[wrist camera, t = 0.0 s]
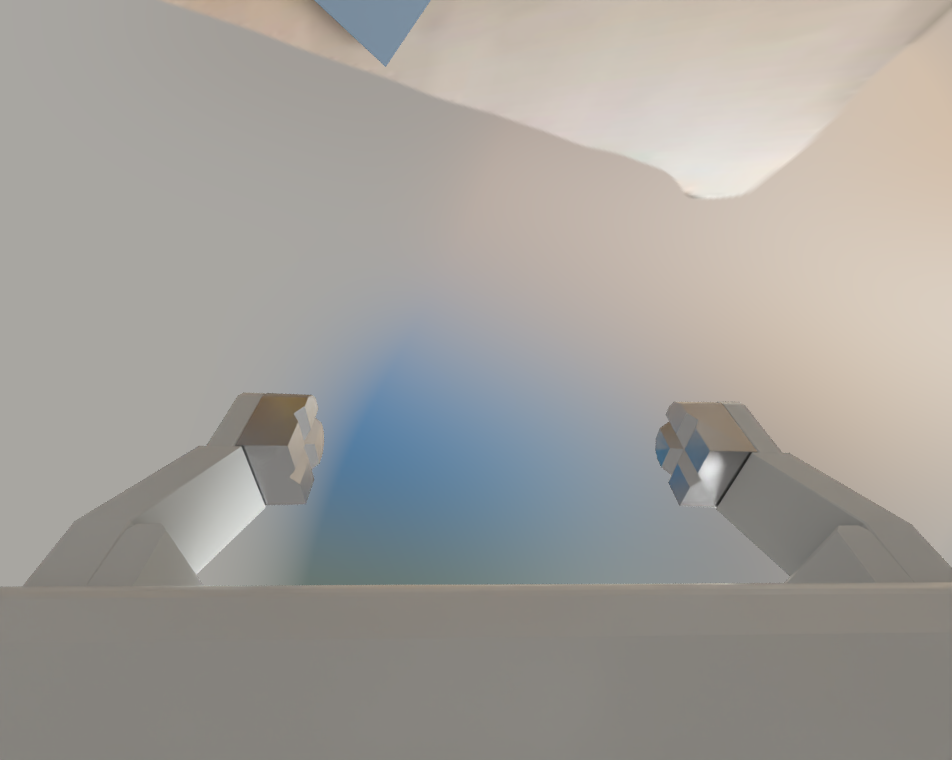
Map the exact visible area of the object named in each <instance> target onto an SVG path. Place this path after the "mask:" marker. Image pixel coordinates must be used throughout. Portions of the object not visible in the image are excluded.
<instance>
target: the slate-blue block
mask: <svg viewBox="0 0 952 760" xmlns="http://www.w3.org/2000/svg"><path fill="white" fill-rule="evenodd" d="M315 1H316V2H317V3H318V4H319V5H320V6H321V7H322V8H323V9H324V10H325V11H326V12H327V13H329V14H330V15H331V16H332V17H333V18H334V19H335V20H336V21H337V22H338V23H339V24H340V25H341V26H342V27H344V28H345V29H346V30H347V31H348V32H349V33H350V34H351V35H352V36H353V37H354V38H355V39H356V40H357V41H359V42H360V43H361V44H362V45H363V46H364V47H365V48H366V49H367V50H368V51H369V52H370V53H371V54H372V55H374V56H375V57H376V58H377V59H378V60H379V61H380V62H381V63H382V64H383V65H384V66H385V67H386V66H387V64H388V63H389V61H390V60H391V58H392V57H393V55H394V54H395V52H396V51H397V49H398V48H399V46H400V45H401V43H402V42H403V40H404V39H405V37H406V36H407V34H408V33H409V32H410V30H411V29H412V27H413V26H414V24H415V23H416V21H417V20H418V18H419V17H420V15H421V14H422V12H423V11H424V9H425V8H426V6H427V5H428V3H429V2H430V0H315Z"/></svg>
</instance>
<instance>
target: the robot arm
mask: <svg viewBox="0 0 952 760" xmlns="http://www.w3.org/2000/svg"><path fill="white" fill-rule="evenodd" d="M317 411H318V405H317V402H316V398H315V397H314V396H313V395H299V394H276V393H266V394H264V393H242V394H240V395H238V397H237V398H236V400H235V401H234V403H233V404H232V406H231V408H230V409H229V411H228V412H227V414H226V415H225V417H224V419H223V420H222V422H221V423H220V425H219V426H218V428H217V430H216V431H215V433H214V434H213V436H212V438H211V439H210V441H209V442H208V444H207V446H198V447H196V448H195V449H193V450H191V451H190V452H188V453H187V454H185V455H183V456H181V457H180V458H178V459H176V460H175V461H173V462H171V463H170V464H168V465H167V466H165V467H163V468H162V469H160V470H158V471H157V472H155V473H153V474H152V475H150V476H149V477H147V478H145V479H144V480H142V481H140V482H138V483H137V484H135V485H134V486H132V487H130V488H129V489H127V490H125V491H124V492H122V493H120V494H119V495H117V496H115V497H114V498H112V499H111V500H109V501H107V502H105V503H104V504H102V505H101V506H99V507H97V508H96V509H94V510H92V511H91V512H89V513H87V514H86V515H84V516H82V517H81V518H79V519H77V520H76V521H74V523H73V524H72V525H71V527H70V528H69V529H68V530H67V531H66V533H65V534H64V535H63V536H62V538H61V539H60V540H59V541H58V543H57V544H56V545H55V547H54V548H53V549H52V550H51V551H50V553H49V554H48V555H47V556H46V558H45V559H44V560H43V561H42V563H41V564H40V565H39V566H38V568H37V569H36V570H35V571H34V573H33V574H32V575H31V576H30V578H29V579H28V580H27V581H26V583H25V584H24V585H23V586H22V587H0V760H952V567H951V566H950V565H949V564H948V563H947V562H946V561H945V560H944V559H943V558H942V557H941V556H940V555H939V554H938V553H937V551H936V550H935V549H934V548H933V547H932V546H931V545H930V544H929V543H928V542H927V541H926V539H924V537H923V536H922V535H921V534H920V533H919V532H918V531H917V530H916V529H915V528H914V527H913V525H912V524H910V523H908V522H906V521H905V520H903V519H901V518H900V517H898V516H896V515H895V514H893V513H891V512H889V511H888V510H886V509H884V508H883V507H881V506H879V505H877V504H876V503H874V502H872V501H871V500H869V499H867V498H865V497H864V496H862V495H860V494H858V493H857V492H855V491H853V490H852V489H850V488H848V487H847V486H845V485H843V484H841V483H840V482H838V481H836V480H835V479H833V478H831V477H829V476H828V475H826V474H824V473H823V472H821V471H819V470H817V469H816V468H814V467H812V466H810V465H809V464H807V463H805V462H804V461H802V460H800V459H799V458H797V457H795V456H793V455H792V454H790V453H782V452H781V450H780V449H779V448H778V447H777V445H776V444H775V443H774V442H773V440H772V439H771V438H770V436H769V435H768V434H767V433H766V431H765V430H764V429H763V428H762V426H761V425H760V424H759V422H758V421H757V420H756V419H755V418H754V416H753V415H752V414H751V412H750V411H749V410H748V409H747V407H746V406H745V405H743V404H742V403H740V402H673V403H672V404H671V405H670V406H669V409H668V411H667V413H666V416H667V418H668V420H669V422H668V423H667V424H665V425H664V426H662V427H661V428H660V429H659V432H658V434H657V437H656V448H655V450H656V454H657V459H658V461H659V463H660V466H661V467H662V468H663V469H664V470H666V471H667V472H668V473H669V474H671V477H670V480H669V485H670V487H671V489H672V491H673V493H674V495H675V497H676V499H677V501H678V504H679V506H688V507H717V508H716V509H717V510H718V511H719V512H720V513H721V514H722V515H723V516H724V517H725V518H726V519H727V520H729V521H730V522H731V523H732V524H733V525H734V526H735V527H736V528H737V529H738V530H740V531H741V532H742V533H743V534H744V535H745V536H746V537H747V538H748V539H749V540H751V541H752V542H753V543H754V544H755V545H756V546H757V547H758V548H759V549H760V550H762V551H763V552H764V553H765V554H766V555H767V556H768V557H769V558H770V559H771V560H773V561H774V562H775V563H776V564H777V565H778V566H779V567H780V568H782V569H783V570H784V571H785V572H786V573H787V574H788V575H789V576H790V577H789V578H788V579H787V580H786V581H785V582H784V583H701V584H698V583H695V584H694V583H693V584H692V583H690V584H517V585H516V584H510V585H509V584H506V585H504V584H503V585H502V584H496V585H301V586H300V585H284V586H283V585H277V586H276V585H275V586H273V585H271V586H204V585H203V584H202V582H201V581H200V580H199V578H198V577H197V575H196V574H197V573H198V572H199V571H200V570H201V569H202V568H203V567H205V566H206V565H207V564H208V563H209V562H210V561H211V560H212V559H213V558H214V557H215V556H216V555H217V554H218V553H219V552H220V551H221V550H222V549H223V548H224V547H225V546H226V545H227V544H228V543H229V542H230V541H231V540H232V539H233V538H234V537H236V536H237V535H238V534H239V533H240V532H241V531H242V530H243V529H244V528H245V527H246V526H247V525H248V524H249V523H250V522H251V521H252V520H253V519H254V518H255V517H256V516H257V515H258V514H259V513H260V512H261V511H262V510H263V509H264V508H265V507H266V506H265V505H293V504H306V503H307V500H308V497H309V494H310V491H311V488H312V485H313V482H314V477H313V473H312V469H313V468H315V467H316V466H317V465H318V464H320V460H321V457H322V454H323V446H324V431H323V427H322V423H321V422H320V421H318V420H317V419H316V418H315V417H316V414H317Z"/></svg>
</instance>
